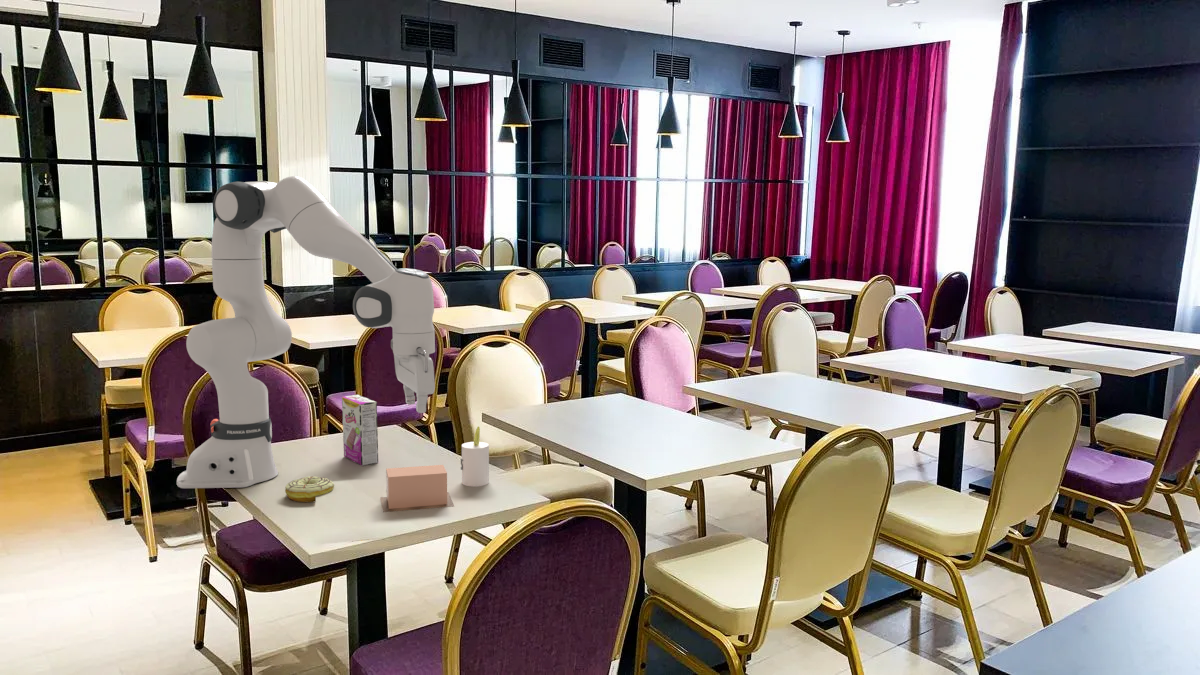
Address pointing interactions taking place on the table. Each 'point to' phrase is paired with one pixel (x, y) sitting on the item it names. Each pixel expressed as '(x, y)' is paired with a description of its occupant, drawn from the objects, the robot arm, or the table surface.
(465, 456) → the candle
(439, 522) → the table surface
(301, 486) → the decorated donut
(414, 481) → the peach brick
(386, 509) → the marble board
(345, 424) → the candy bar box
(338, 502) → the table surface
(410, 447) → the table surface
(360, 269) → the robot arm
